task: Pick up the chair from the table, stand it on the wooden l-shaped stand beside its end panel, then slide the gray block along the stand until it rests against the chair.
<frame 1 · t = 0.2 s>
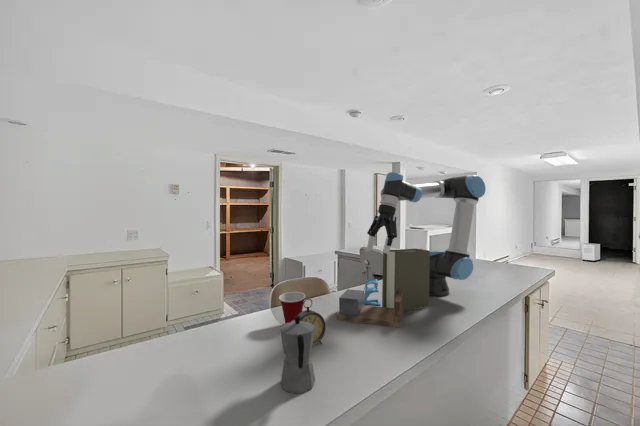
hand: (377, 251, 133), 27 cm above the counter, fingers open, 13 cm apart
alarm clock: (308, 346, 101), on the counter
coffeepot: (298, 386, 78), on the counter
plastic cup: (292, 325, 119), on the counter
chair: (371, 303, 147), on the counter
book: (406, 307, 141), on the counter, touching wooden l-shaped stand
wooden l-shaped stand: (370, 316, 128), on the counter
gray block: (352, 309, 131), point 2 cm above the counter, touching wooden l-shaped stand
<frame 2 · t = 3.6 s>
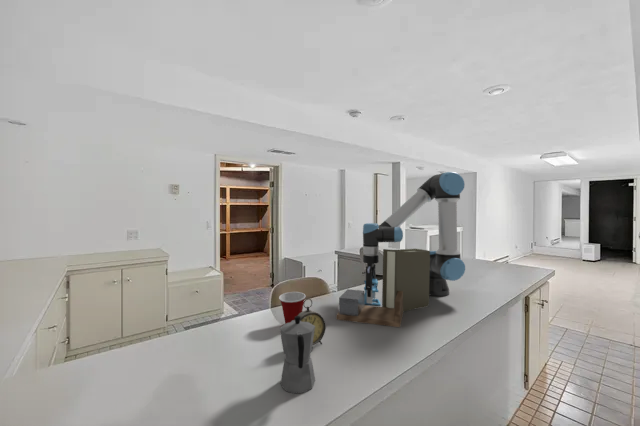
hand: (371, 300, 147), 1 cm above the counter, fingers closed on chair, 8 cm apart
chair: (371, 303, 147), on the counter, touching gripper
everything else where it was.
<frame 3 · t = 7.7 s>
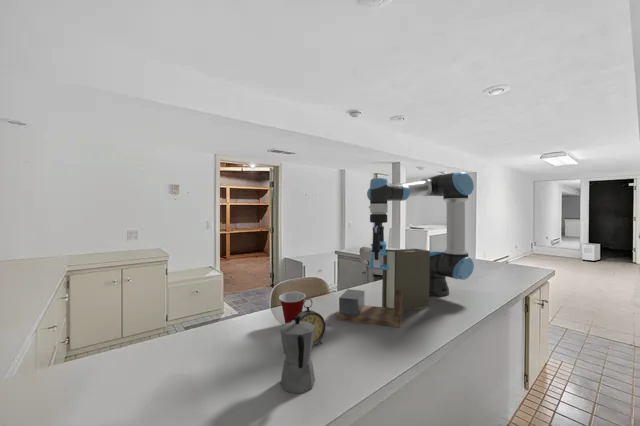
hand: (378, 265, 130), 22 cm above the counter, fingers closed on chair, 7 cm apart
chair: (378, 268, 130), point 20 cm above the counter, touching gripper
everything else where it was.
when the fingers open (5 cm above the counter, at t = 11.6 s): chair drops 1 cm, resting on wooden l-shaped stand.
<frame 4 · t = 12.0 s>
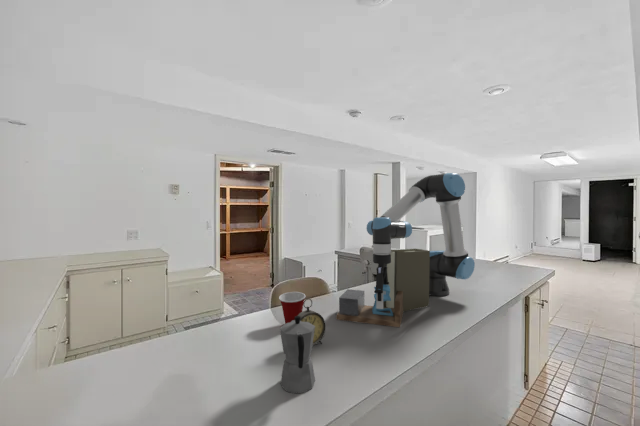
hand: (382, 303, 127), 6 cm above the counter, fingers open, 12 cm apart
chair: (382, 313, 127), point 2 cm above the counter, touching wooden l-shaped stand
everything else where it was.
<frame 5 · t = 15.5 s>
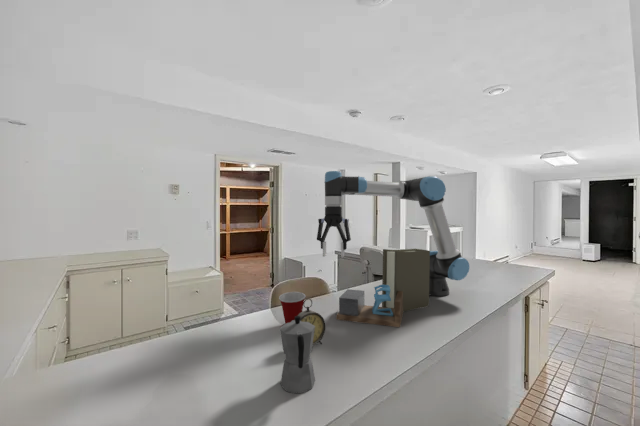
hand: (333, 256, 134), 25 cm above the counter, fingers open, 8 cm apart
nothing on the counter moved.
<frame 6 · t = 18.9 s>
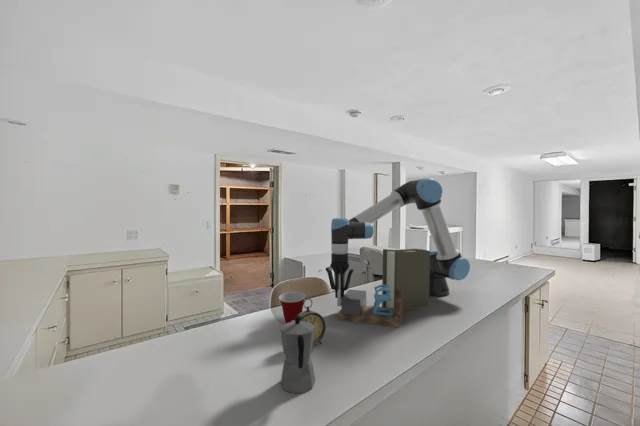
hand: (339, 305, 133), 3 cm above the counter, fingers closed
gray block: (354, 310, 131), point 2 cm above the counter, touching gripper, wooden l-shaped stand
everything else where it was.
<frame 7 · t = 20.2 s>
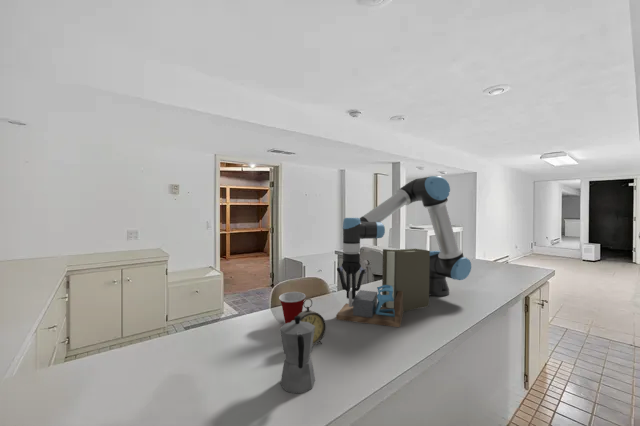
hand: (351, 305, 131), 4 cm above the counter, fingers closed
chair: (385, 314, 126), point 2 cm above the counter, touching gray block, wooden l-shaped stand
gray block: (365, 311, 129), point 2 cm above the counter, touching gripper, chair, wooden l-shaped stand
everything else where it was.
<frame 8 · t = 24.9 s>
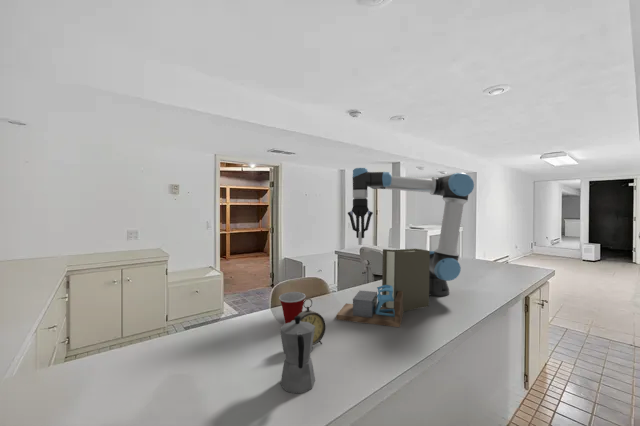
hand: (360, 244, 152), 28 cm above the counter, fingers closed
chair: (385, 314, 126), point 2 cm above the counter, touching wooden l-shaped stand
gray block: (365, 311, 129), point 2 cm above the counter, touching wooden l-shaped stand
everything else where it was.
at the end: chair inside the target area (1.5 cm from its centre), point 1.8 cm above the counter; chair tilted 0°; gray block 8.4 cm from the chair (horizontally) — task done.
